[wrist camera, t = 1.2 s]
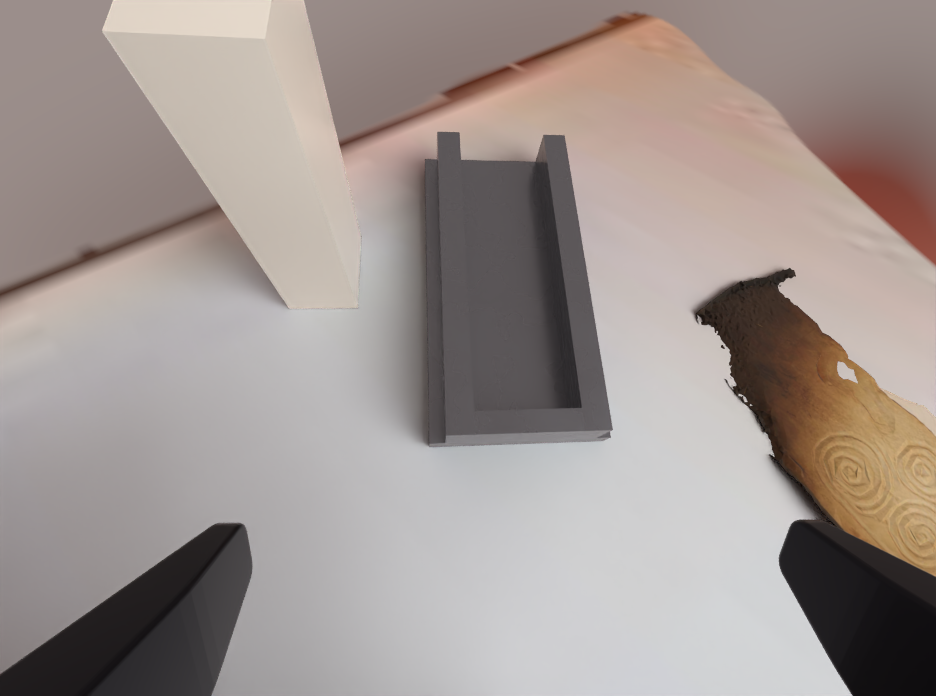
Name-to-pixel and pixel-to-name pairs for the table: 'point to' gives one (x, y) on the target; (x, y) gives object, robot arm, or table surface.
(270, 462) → the table surface
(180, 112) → the cream rectangular block
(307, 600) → the table surface
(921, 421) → the parchment
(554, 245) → the grey rectangular tray
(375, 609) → the table surface
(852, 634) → the robot arm
